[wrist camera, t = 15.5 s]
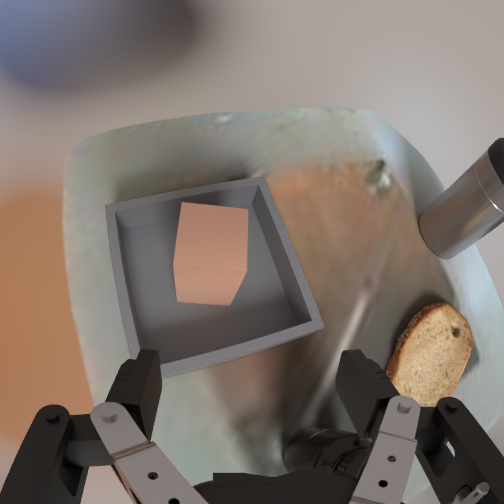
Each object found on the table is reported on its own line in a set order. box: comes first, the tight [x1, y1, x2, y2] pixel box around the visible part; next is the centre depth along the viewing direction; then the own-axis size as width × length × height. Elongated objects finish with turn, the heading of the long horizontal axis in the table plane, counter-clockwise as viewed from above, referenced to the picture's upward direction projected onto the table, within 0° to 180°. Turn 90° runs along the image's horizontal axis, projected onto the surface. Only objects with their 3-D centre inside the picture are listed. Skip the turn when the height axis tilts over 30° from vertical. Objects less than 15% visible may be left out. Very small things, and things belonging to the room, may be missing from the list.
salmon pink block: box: [173, 202, 248, 306], centre depth 29 cm, size 6×6×10 cm
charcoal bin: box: [105, 176, 324, 379], centre depth 32 cm, size 18×18×5 cm
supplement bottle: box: [284, 426, 372, 477], centre depth 22 cm, size 7×7×12 cm
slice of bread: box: [385, 302, 473, 407], centre depth 33 cm, size 18×18×4 cm
